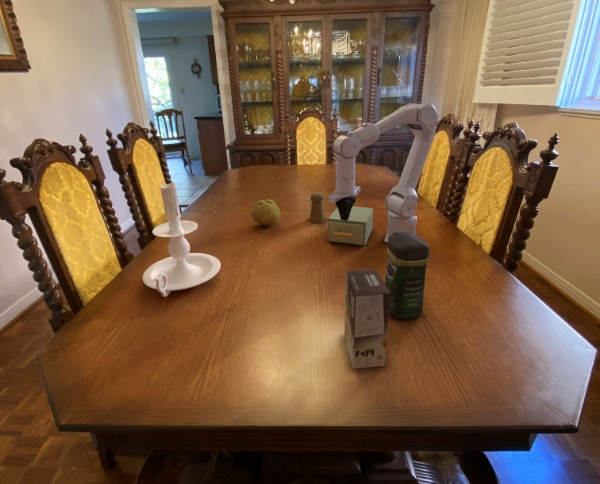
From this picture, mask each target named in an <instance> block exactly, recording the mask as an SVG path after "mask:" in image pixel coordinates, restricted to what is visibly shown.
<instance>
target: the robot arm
mask: <svg viewBox="0 0 600 484" xmlns="http://www.w3.org/2000/svg"><path fill="white" fill-rule="evenodd" d="M439 117H440V114H439V113H438V110H437V107H436V106H435V105H434V104H432V103H414V102H409V103H406V104H405V105H402V106H400V107H399V108H398V109H396V110H395V111H393V112H392V113H390V114H388V115H387V116H385V117H384V118H382V119H381V120H378V121H377V122H376V123H373V122H363V123H361V126H360V127H358V128H356V129H354V130H352V131H351V130H350V131H348V132H347V134H346V135H339V136H338V137H337V138H336V139H335V140H334V142H333V145H332V151H333V153H334V154H335V191H333V192H332V193H331V194H330V195H328V196H327V199H328V200H327V202H328V204H333V205H334V204H335V205H336V208H338V211H339V214H340V218H341V220H345V221H347V220H348V219H349V216H350V212H351V209H352V206H354V204H355V203H356V201H357V197H356V196H358V194H359V193H360V194H361V188H362V187H361V186H359V185H356V184H355V183H356V157H357V156H358V154H359V153H360V151H361V150H362V149H364V148H366V147H368V146H370V145H372V144H373V143H376V142H377V141H378V140H379V138H380V136H381V135H382V134H383V133H386V132H388V131H390V130H392V129H393V128H396V127H398V126H401V125H402V124H404V125H406V126H407V127H408V128H409V129H410V130H411V132H412V133H413V135H414V139H413V142H412V145H411V147H410V148H411V149H410V150H409V153H408V156H407V159H406V162H405V165H404V166H403V170H402V173H401V176H400V178H399V181H398V184H396V185H395V186H393V187H392V188H391V190H390V192H389V194H388V195H387V196H386V198H385V199H384V206H385V208H386V209H387V213H388V215H387V227H386V228H387V229H386V235H385V237H384V240H383V242H384V243H387V244H388V239H389V237H390V236H391V235H392V234H393V233H394V232H405V231H410V232H411V233H413V234H415V235H417V221H418V216H415V214H416V211H417V209H418V208H417V207H418V205H417V203H418V199H419V196H418V193H417V192H416V188H417V185H418V183H419V180H420V177H421V175H422V172H423V169H424V166H425V164H426V161H427V159H428V156H429V153H430V150H431V148H432V145H433V142H434V139H435V137H436V127H437V126H436V125H437V123H438V120H439Z"/></svg>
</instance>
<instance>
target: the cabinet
mask: <svg viewBox="0 0 600 484" xmlns="http://www.w3.org/2000/svg"><path fill="white" fill-rule="evenodd" d="M373 219H374V208H373V207H367V206H366V207H364V206H354V205H353V206H352V209H351V212H350V216H349V219H348V220H347V221H345V220H341V218H340V214H339V211H338V208H337V207H336V208H335V209H334V211H333V212H332V213H331V214H330V215H329V216H328V218H327V242H330V243H331V242H332V243H339V244H346V245H355V246H363V247H364V246H366V244H367V243H368V239H369V238H370V235H371V233H372V231H373V222H374V221H373ZM330 221H337V222H347V223H356V224H363V225H364V231H363V244H362V245H361V244H353V243H345V242H337V241H329V222H330Z"/></svg>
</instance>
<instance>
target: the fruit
mask: <svg viewBox="0 0 600 484" xmlns="http://www.w3.org/2000/svg"><path fill="white" fill-rule="evenodd" d="M250 212H251V213H250V214H251V218H252V219H253V221H254V222H255V223H257V225H260V226H265V227H270V226H272V225H274V224H276V223H277V222H278V221H279V220H280V218H281V210H280V207H279V206H278V205H277V203H276V202H275V201H274V200H273V199H267V198H266V199H265V200H264V199H259V200H257V201H256V202H255V203H254V204H253V205H252V209H251V211H250Z"/></svg>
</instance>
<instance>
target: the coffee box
mask: <svg viewBox="0 0 600 484" xmlns="http://www.w3.org/2000/svg"><path fill="white" fill-rule="evenodd" d="M344 285H345V286H344V287H345V288H344V289H345V291H344V294H345V295H344V337H343V338H344V342H345V345H346V350H347V352H348V356H349V359H350V364H351V367H352V369H366V368H376V367H377V368H378V367H384V366H385V363H386V352H387V337H388V327H389V314H390V312H389V302H390V292H389V290H388V288H387V287H386V285H385V281H384V280H383V279H382V277H381V275H380V273H379V271H378V270H377V269H376V268H366V269H364V268H363V269H355V270H346V271H345V284H344Z"/></svg>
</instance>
